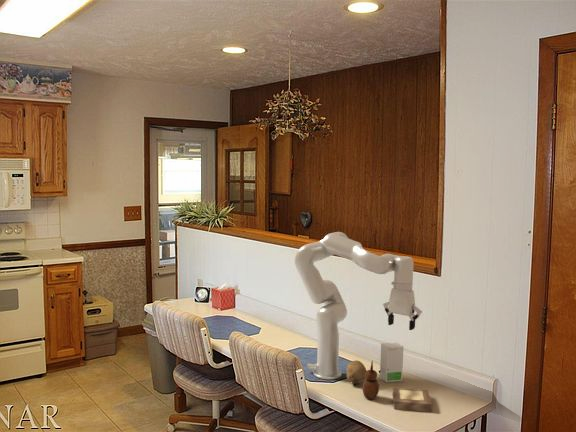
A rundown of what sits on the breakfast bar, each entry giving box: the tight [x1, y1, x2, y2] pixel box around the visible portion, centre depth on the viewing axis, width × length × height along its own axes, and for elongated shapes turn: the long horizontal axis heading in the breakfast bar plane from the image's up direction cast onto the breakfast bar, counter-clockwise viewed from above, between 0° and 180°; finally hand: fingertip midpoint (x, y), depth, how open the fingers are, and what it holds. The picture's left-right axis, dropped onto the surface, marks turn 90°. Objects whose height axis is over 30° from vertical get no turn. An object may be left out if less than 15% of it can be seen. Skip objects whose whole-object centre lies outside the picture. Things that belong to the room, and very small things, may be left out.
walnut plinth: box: [392, 387, 433, 413], centre depth 215 cm, size 14×14×3 cm
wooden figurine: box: [362, 360, 380, 400], centre depth 219 cm, size 7×6×15 cm
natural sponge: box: [345, 360, 368, 385], centre depth 234 cm, size 9×9×10 cm
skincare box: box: [379, 342, 404, 383], centre depth 239 cm, size 8×7×16 cm
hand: (401, 326), depth 226 cm, fingers open, 9 cm apart
